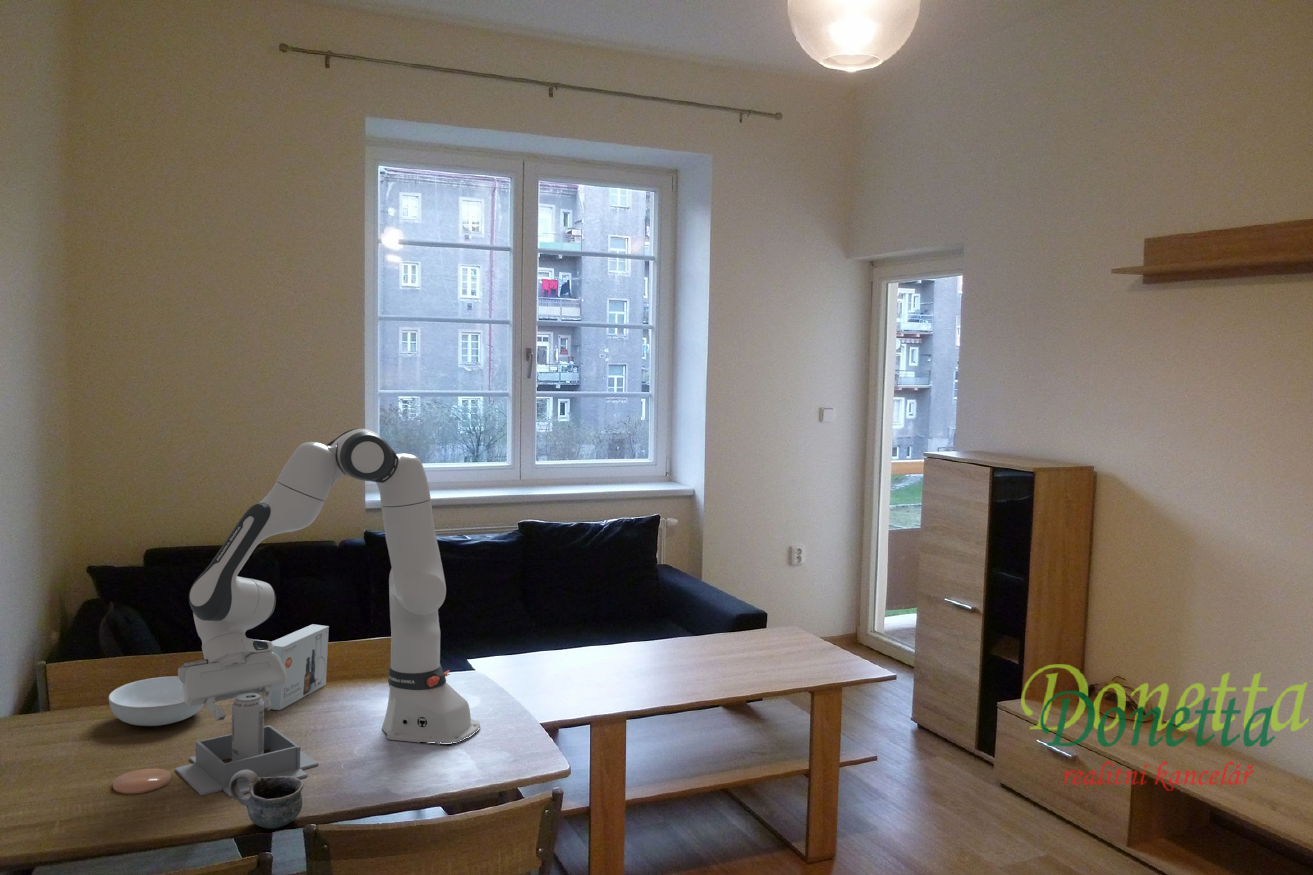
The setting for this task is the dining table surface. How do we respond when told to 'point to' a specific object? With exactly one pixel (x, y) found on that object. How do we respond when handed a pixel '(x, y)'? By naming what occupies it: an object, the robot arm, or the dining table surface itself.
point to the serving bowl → (151, 702)
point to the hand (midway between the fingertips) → (244, 714)
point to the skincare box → (301, 664)
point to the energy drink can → (247, 726)
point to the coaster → (141, 781)
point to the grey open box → (243, 763)
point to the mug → (269, 798)
